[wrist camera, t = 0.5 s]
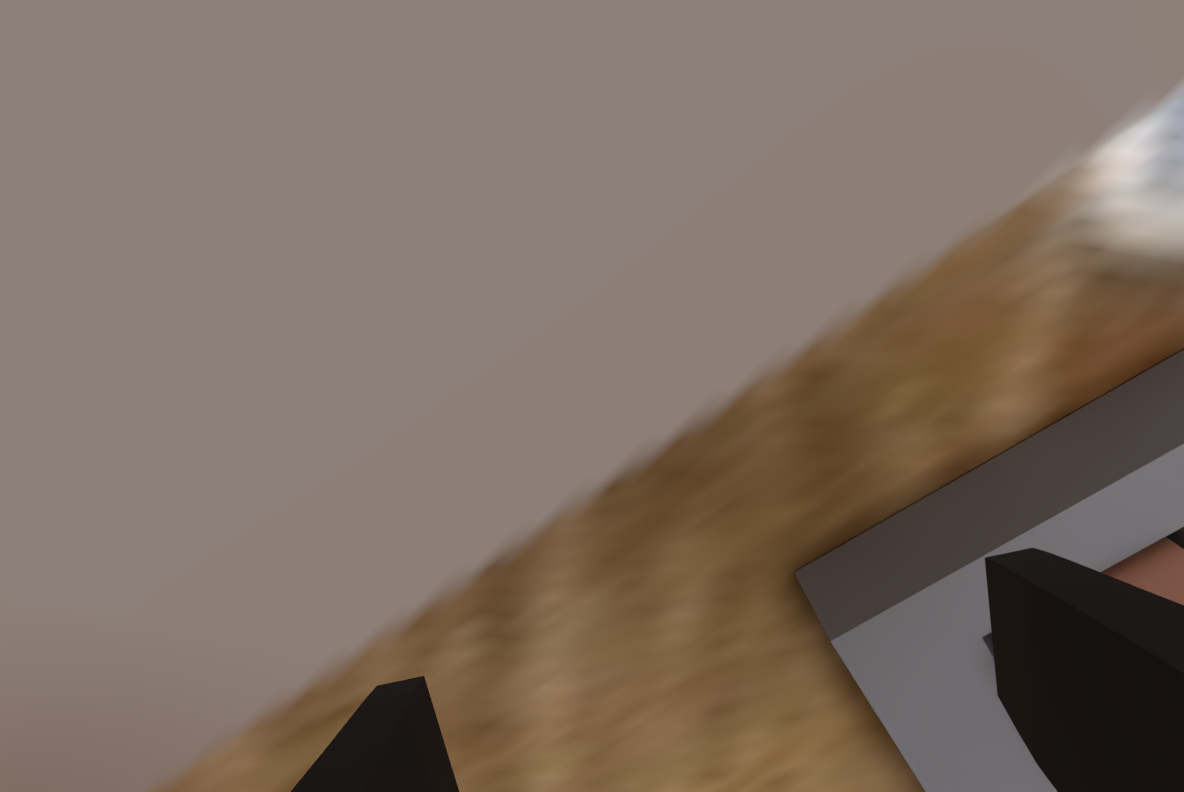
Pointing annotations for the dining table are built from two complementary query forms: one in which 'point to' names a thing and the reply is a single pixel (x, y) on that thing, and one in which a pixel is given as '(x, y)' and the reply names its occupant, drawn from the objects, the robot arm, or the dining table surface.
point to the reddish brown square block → (1154, 570)
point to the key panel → (959, 585)
